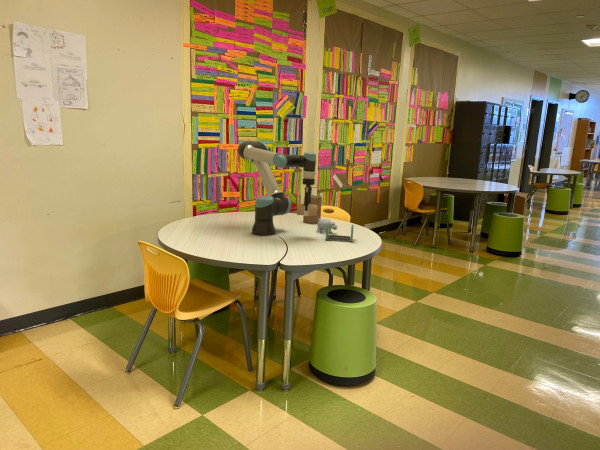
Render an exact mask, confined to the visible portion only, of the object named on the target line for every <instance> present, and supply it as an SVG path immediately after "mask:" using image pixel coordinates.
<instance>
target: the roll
mask: <svg viewBox="0 0 600 450" xmlns="http://www.w3.org/2000/svg"><path fill="white" fill-rule="evenodd" d="M303 204H304V203H297V204H296V205H297V206H296V215H297V216H303V215H304V205H303ZM308 206H309V212H308V216H317V205H310V204H309V205H308Z"/></svg>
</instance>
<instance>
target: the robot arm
mask: <svg viewBox="0 0 600 450" xmlns="http://www.w3.org/2000/svg"><path fill="white" fill-rule="evenodd" d="M236 151H237V155H238V156H239V158H241V159H242V160H248V161H250V160H251V163H252V165H254V166H255V167H256V170H257V171H258V175H259V177H260V179H261V182H262V184H263V186H264V189H265V192H266V194H267V195H264V196H263V195H262V196H258V197H257V198H255V201H254V202H255V203H254V223H253V225H252V228H251V233H252V234H253V235H257V236H273V235H275V234H276V229H275V228H276V227H275V224H274V217H276V216H284V215H287V214H288V213H289V212H290V211H291V209H292V200H291V199H290V197H287V196H285V194H284V192H283V191H281V190H280V188H279V185H278V183H277V180H276V178H275V176H274V173H273V170H272V168H271V166H270V165H272V166H275V167H276V168H280V169H281V168H302V169H303V170H302V177H303V178H302V185H305V187H304V197H305V198H304V197H303V198H304V199H303V203H302V204H303V205H304V216H308V212H309V206H308V205H309V203H310V204H311V195H312V190H313V189H312V186H314V185H315V183H316V175H317V172H316V164H317V154H316V153H315V152H306V151H305V152H304V153H303V155H302V154H294V153H293V154H283V153H278V152H275V151H274V152H273V151H270V150H269V147H268V145H267V144H266V143H265V142H261V141H243V142H241V143H240V144H239V145H238V146H237V149H236Z"/></svg>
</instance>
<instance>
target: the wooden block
mask: <svg viewBox="0 0 600 450" xmlns="http://www.w3.org/2000/svg"><path fill="white" fill-rule="evenodd" d="M303 198H305V196H304V197H303ZM322 199H323V197H322V196H321V195H316V194H315V195H314V194H311V204H310V203H309V204H310V205H317V216H304V215H302V216H303V217H302V222H303V223H305V224H311V225H316V224H318V222H319V220H318V218H319V219H320V220H322V217H321V216H322ZM317 217H318V218H317Z"/></svg>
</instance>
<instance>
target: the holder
mask: <svg viewBox="0 0 600 450" xmlns="http://www.w3.org/2000/svg"><path fill="white" fill-rule="evenodd" d="M329 224H330V223H328V224H327V226H326V234H325V241H329V242H339V243H340V242H343V243H353V240H354V239H353V238H354V226H355V225H354V224H351V228H350V235H336V234H330V232H329Z"/></svg>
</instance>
